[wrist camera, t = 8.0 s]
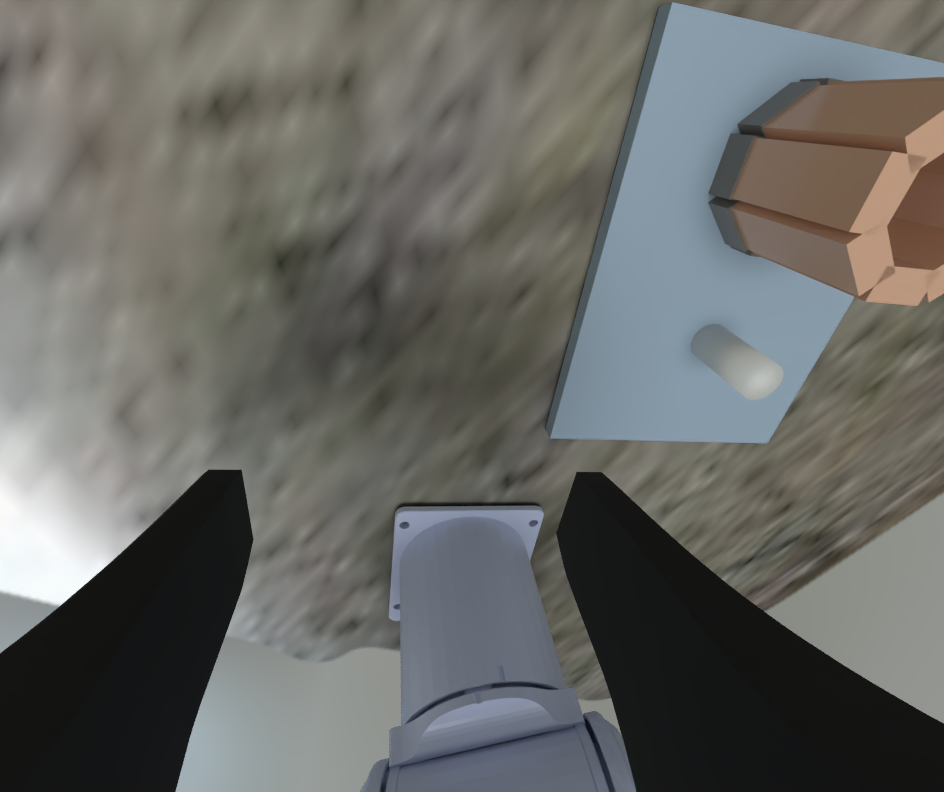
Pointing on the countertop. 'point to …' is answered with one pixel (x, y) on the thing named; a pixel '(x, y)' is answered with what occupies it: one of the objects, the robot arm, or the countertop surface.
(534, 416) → the countertop surface
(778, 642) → the robot arm
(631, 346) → the pin board
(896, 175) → the sleeve
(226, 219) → the countertop surface
